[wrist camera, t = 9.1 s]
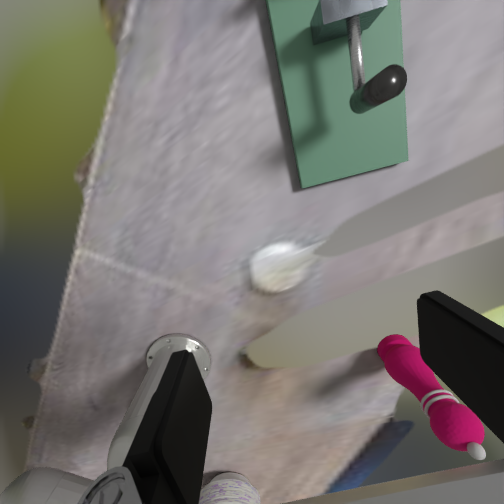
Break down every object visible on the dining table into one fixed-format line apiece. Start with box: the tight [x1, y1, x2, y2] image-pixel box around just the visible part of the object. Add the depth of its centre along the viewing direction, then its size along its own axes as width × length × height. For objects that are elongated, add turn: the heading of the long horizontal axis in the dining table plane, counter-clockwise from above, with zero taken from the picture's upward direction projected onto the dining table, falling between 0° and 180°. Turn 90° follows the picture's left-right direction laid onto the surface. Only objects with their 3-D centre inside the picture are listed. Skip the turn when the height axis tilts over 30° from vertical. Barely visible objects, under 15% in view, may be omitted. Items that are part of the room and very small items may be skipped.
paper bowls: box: [199, 472, 261, 504], centre depth 58 cm, size 15×15×8 cm
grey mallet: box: [310, 0, 407, 114], centre depth 27 cm, size 12×7×11 cm, turn 14°
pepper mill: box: [377, 334, 486, 460], centre depth 40 cm, size 7×7×20 cm
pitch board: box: [266, 0, 408, 188], centre depth 34 cm, size 25×16×2 cm, turn 14°
